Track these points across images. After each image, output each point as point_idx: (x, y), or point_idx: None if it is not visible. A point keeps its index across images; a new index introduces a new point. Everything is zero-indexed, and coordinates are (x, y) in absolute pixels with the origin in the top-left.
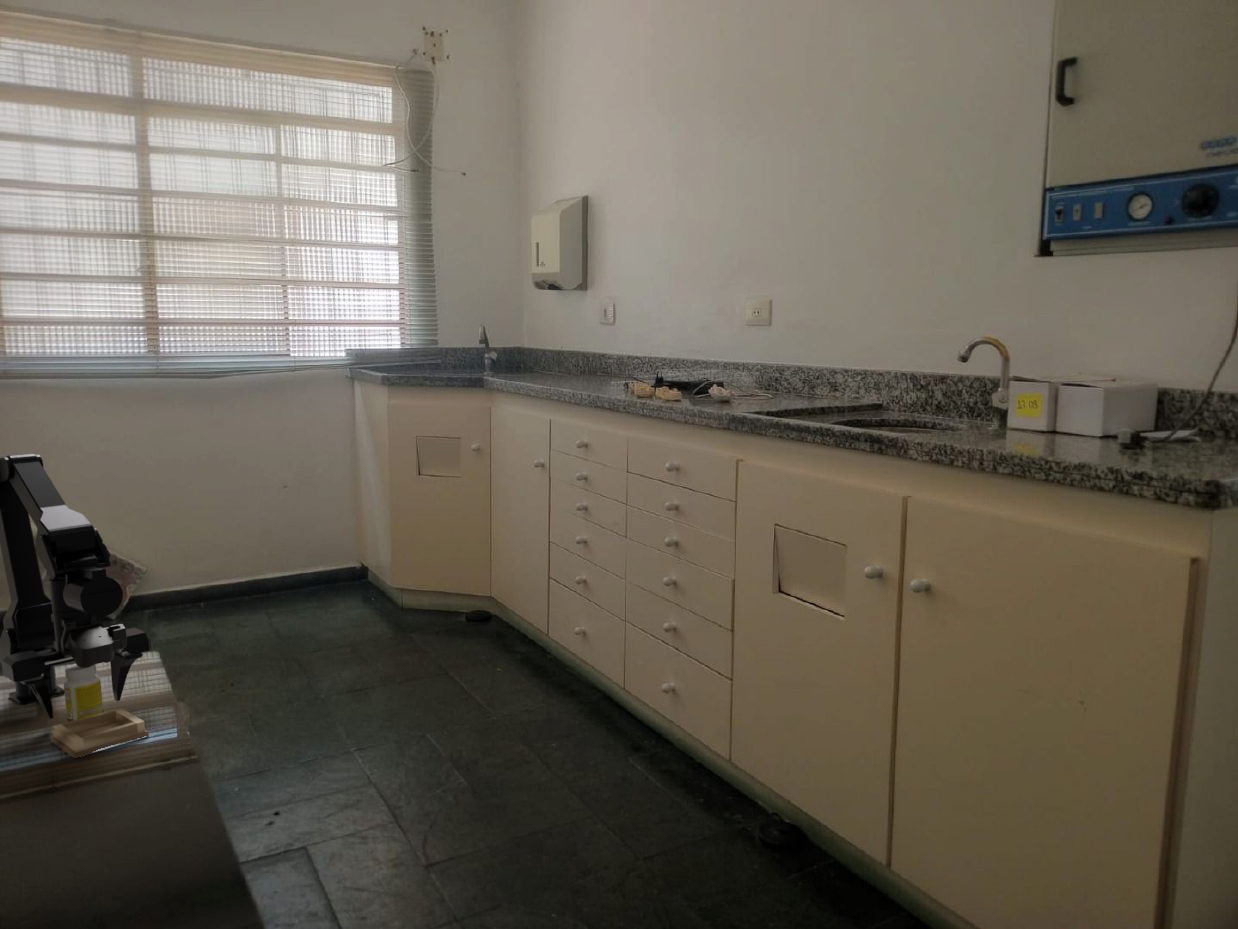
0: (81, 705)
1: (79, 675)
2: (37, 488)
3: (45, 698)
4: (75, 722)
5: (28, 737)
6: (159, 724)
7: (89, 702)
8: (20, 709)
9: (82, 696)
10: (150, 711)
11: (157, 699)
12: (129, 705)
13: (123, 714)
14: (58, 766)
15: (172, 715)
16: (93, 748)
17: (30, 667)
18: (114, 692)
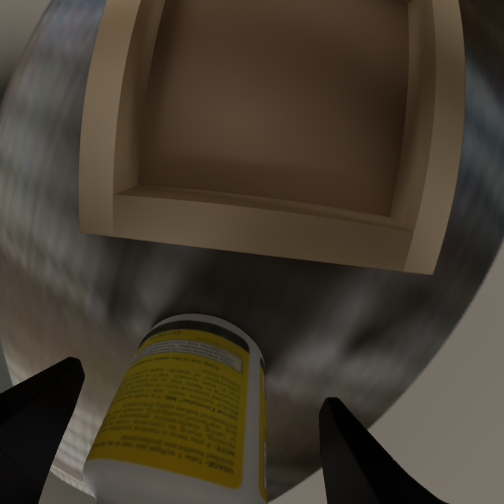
0: (226, 387)
1: None
2: None
3: (383, 467)
4: (353, 220)
5: (390, 364)
6: (56, 61)
7: (185, 380)
8: (268, 492)
9: (210, 425)
10: (26, 238)
11: (9, 319)
12: (66, 352)
13: (113, 85)
14: (470, 15)
15: (4, 126)
16: None
17: None
18: (70, 394)
